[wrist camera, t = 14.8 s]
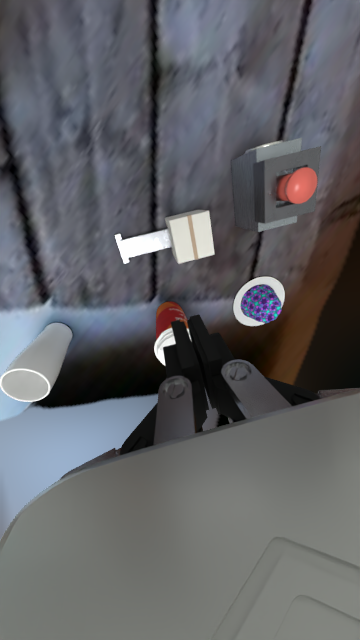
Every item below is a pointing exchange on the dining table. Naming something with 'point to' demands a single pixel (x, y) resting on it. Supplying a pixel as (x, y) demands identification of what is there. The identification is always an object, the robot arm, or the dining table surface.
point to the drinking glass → (37, 365)
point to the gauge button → (296, 186)
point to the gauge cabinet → (269, 184)
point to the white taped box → (190, 235)
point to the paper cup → (167, 326)
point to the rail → (143, 243)
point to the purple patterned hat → (259, 301)
